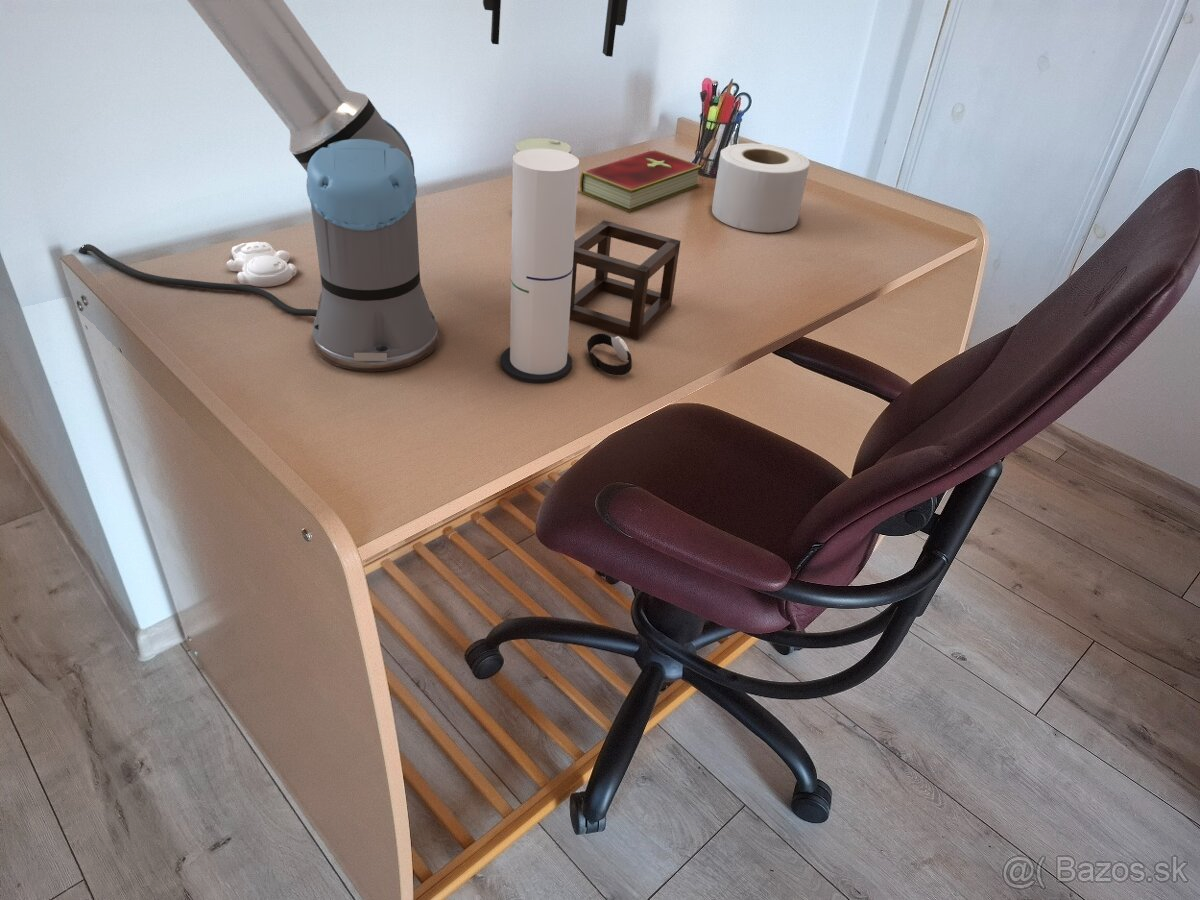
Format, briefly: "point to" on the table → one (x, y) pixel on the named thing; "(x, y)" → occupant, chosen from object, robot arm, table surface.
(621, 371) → the watch
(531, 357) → the cylindrical container
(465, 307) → the table surface
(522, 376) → the coaster
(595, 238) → the rack
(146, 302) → the table surface
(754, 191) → the white paper roll
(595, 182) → the hardcover book
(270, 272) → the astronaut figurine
